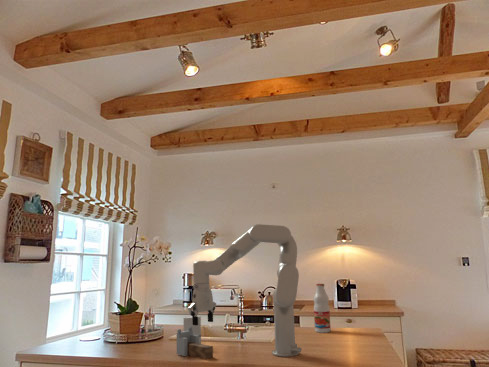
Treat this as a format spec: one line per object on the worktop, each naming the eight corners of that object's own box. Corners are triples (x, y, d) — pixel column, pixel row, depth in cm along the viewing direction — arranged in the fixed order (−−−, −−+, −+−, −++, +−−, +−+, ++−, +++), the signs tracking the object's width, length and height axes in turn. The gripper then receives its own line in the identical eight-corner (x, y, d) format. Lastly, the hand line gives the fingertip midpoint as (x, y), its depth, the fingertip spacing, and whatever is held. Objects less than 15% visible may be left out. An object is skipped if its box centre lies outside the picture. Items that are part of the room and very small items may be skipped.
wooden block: (212, 357, 189) (212, 346, 190) (206, 359, 186) (206, 347, 187) (190, 352, 200) (190, 341, 201) (183, 354, 197) (183, 343, 198)
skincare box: (192, 348, 209) (192, 318, 212) (182, 347, 212) (182, 317, 215) (201, 344, 217) (201, 315, 219) (192, 343, 220) (192, 315, 222)
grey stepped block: (198, 352, 199) (198, 327, 201) (184, 356, 193) (184, 330, 195) (190, 350, 203) (190, 326, 205) (176, 354, 197) (176, 329, 199)
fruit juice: (332, 330, 247) (329, 283, 252) (328, 333, 239) (325, 284, 243) (317, 329, 251) (315, 283, 256) (312, 332, 243) (310, 284, 248)
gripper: (193, 288, 188) (194, 327, 185) (219, 285, 201) (221, 321, 198) (182, 288, 193) (183, 325, 190) (209, 284, 205) (211, 320, 203)
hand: (203, 323), depth 194 cm, fingers open, 9 cm apart
